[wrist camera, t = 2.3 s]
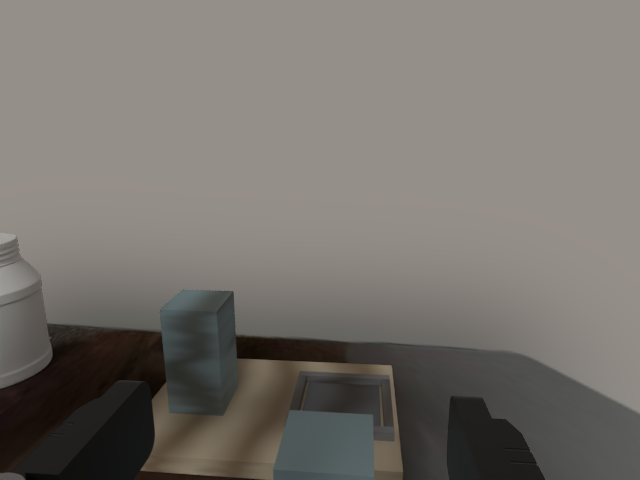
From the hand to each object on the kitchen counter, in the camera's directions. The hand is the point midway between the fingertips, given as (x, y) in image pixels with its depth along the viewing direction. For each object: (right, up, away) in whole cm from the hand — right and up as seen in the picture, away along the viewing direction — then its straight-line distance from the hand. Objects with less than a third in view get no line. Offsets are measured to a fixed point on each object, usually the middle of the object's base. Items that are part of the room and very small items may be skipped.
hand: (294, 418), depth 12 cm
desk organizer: (-4, -12, +31) cm, 34 cm away
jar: (-36, -10, +40) cm, 55 cm away
